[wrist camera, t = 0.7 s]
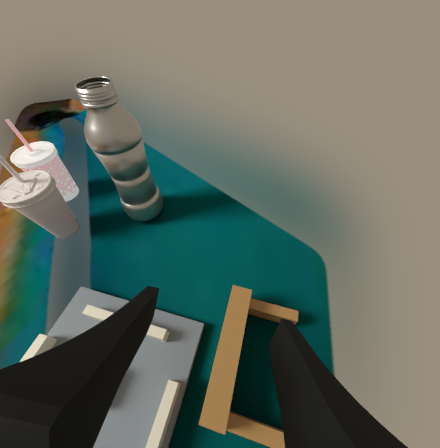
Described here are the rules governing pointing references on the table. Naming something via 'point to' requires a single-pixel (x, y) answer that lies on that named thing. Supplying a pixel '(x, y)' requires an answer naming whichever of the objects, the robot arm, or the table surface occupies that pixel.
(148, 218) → the plastic bottle
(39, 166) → the beverage cup
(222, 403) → the wooden c-shaped bracket
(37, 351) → the stand
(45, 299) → the table surface
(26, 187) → the smoothie
